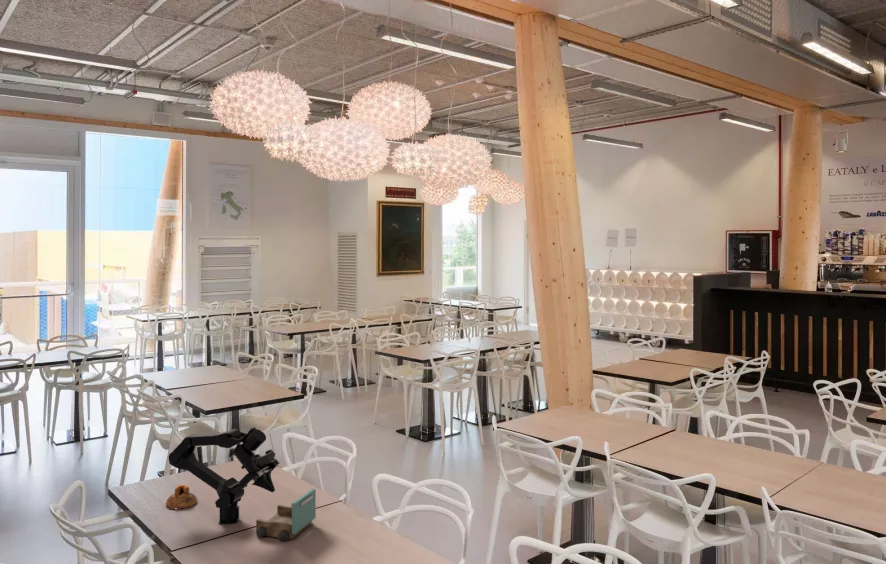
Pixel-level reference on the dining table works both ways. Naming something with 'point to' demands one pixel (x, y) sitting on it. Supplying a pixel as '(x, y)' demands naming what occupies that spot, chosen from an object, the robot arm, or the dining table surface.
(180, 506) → the bell
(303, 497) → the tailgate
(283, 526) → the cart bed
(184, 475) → the dining table surface
